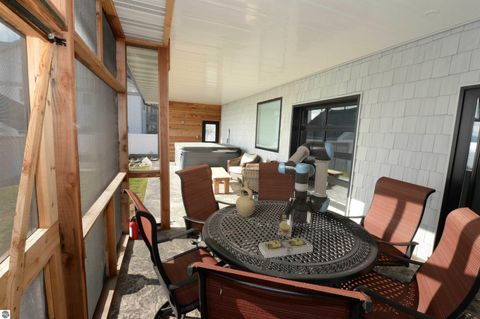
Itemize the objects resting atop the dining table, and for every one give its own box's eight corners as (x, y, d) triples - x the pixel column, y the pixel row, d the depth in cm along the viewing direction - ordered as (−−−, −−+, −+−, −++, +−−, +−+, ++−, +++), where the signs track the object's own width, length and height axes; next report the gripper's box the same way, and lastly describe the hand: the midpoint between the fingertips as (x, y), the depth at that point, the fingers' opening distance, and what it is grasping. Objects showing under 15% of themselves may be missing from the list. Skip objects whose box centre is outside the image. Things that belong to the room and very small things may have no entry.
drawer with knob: (276, 249, 138) (277, 239, 138) (280, 253, 134) (280, 243, 133) (268, 250, 137) (269, 240, 136) (272, 254, 132) (272, 244, 132)
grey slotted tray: (303, 243, 147) (303, 237, 146) (312, 251, 137) (313, 245, 137) (258, 249, 138) (259, 243, 137) (265, 258, 128) (265, 251, 128)
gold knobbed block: (297, 246, 143) (298, 237, 142) (302, 251, 138) (303, 241, 137) (290, 247, 141) (291, 238, 140) (295, 252, 136) (295, 242, 136)
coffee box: (277, 234, 158) (279, 212, 156) (279, 231, 164) (280, 209, 162) (290, 237, 155) (292, 214, 153) (292, 233, 161) (293, 211, 159)
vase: (231, 215, 191) (232, 180, 187) (245, 210, 202) (247, 178, 198) (244, 221, 179) (246, 184, 175) (259, 216, 190) (261, 181, 186)
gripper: (315, 186, 142) (312, 219, 145) (279, 188, 135) (277, 222, 138) (322, 190, 135) (320, 224, 138) (285, 192, 128) (283, 228, 131)
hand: (298, 223), depth 138 cm, fingers open, 13 cm apart
